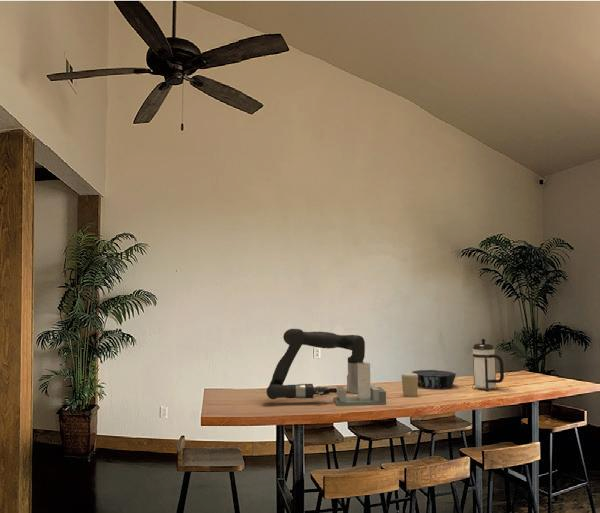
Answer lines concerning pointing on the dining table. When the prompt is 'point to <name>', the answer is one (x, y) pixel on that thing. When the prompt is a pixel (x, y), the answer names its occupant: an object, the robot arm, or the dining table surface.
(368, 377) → the steel block
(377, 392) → the vise base
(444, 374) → the decorative bowl
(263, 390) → the dining table surface
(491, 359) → the coffee press
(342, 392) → the sliding jaw
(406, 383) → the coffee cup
